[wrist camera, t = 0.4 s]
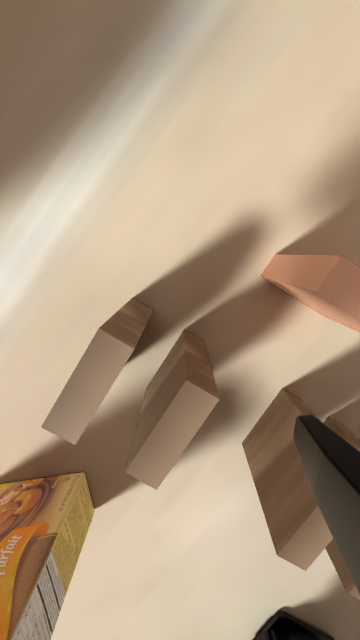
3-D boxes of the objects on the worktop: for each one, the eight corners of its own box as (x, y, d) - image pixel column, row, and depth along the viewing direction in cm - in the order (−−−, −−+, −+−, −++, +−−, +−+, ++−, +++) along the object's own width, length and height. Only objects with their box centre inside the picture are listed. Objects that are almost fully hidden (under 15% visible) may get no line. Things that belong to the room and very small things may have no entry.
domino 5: (346, 427, 26) (445, 532, 16) (304, 479, 27) (374, 608, 17) (328, 416, 26) (417, 516, 16) (287, 469, 27) (347, 593, 17)
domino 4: (300, 399, 26) (374, 490, 16) (260, 453, 27) (305, 570, 17) (282, 388, 25) (344, 473, 16) (242, 443, 26) (277, 555, 17)
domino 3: (275, 254, 23) (341, 255, 14) (337, 295, 24) (444, 324, 14) (260, 275, 24) (316, 291, 14) (322, 315, 24) (417, 358, 14)
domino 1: (153, 310, 24) (134, 349, 15) (116, 370, 25) (74, 445, 16) (132, 297, 24) (98, 328, 14) (96, 358, 25) (41, 426, 15)
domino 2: (204, 341, 25) (219, 399, 15) (166, 399, 26) (156, 489, 16) (184, 328, 25) (186, 380, 15) (146, 388, 26) (124, 472, 16)
